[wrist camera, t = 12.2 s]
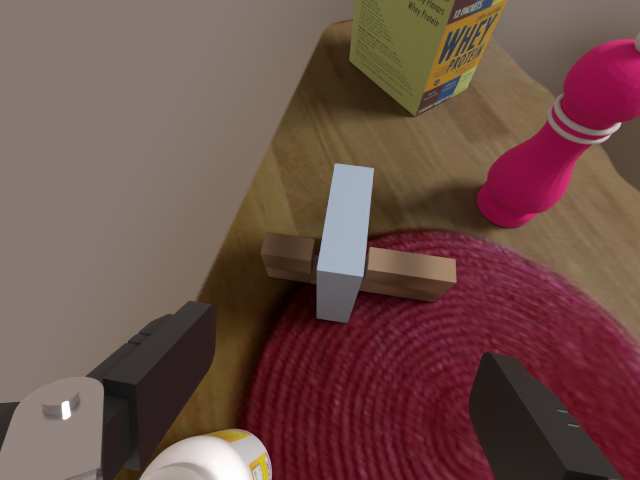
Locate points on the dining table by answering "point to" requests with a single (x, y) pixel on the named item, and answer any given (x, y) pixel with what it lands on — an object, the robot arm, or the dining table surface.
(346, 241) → the pale blue notched block
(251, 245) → the dining table surface
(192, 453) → the supplement bottle
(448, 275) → the wooden notched block
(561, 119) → the pepper mill
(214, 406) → the dining table surface
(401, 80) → the protein box
